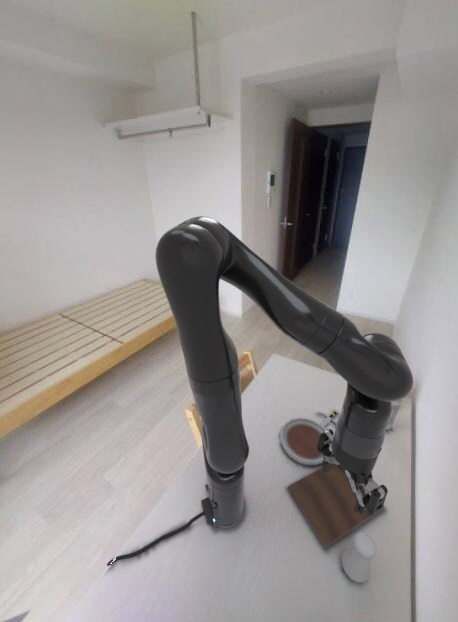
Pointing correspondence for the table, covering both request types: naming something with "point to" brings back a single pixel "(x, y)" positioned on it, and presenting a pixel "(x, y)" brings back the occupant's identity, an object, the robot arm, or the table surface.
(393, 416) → the energy drink can
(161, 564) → the table surface
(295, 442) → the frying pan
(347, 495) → the serving board
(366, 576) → the salt shaker
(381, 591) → the table surface
